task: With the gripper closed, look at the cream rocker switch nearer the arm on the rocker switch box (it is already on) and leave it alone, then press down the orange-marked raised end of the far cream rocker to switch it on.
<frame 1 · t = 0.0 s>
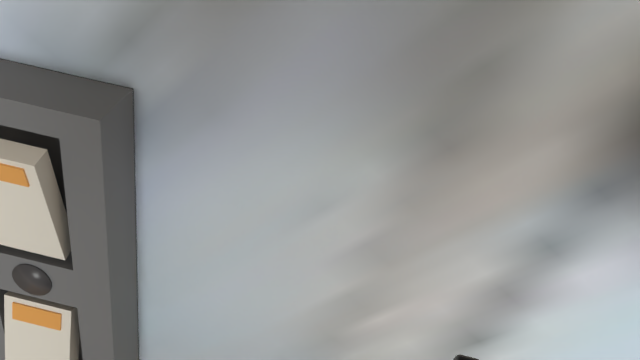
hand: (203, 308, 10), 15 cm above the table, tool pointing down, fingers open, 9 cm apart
rocker switch box: (64, 241, 31), on the table
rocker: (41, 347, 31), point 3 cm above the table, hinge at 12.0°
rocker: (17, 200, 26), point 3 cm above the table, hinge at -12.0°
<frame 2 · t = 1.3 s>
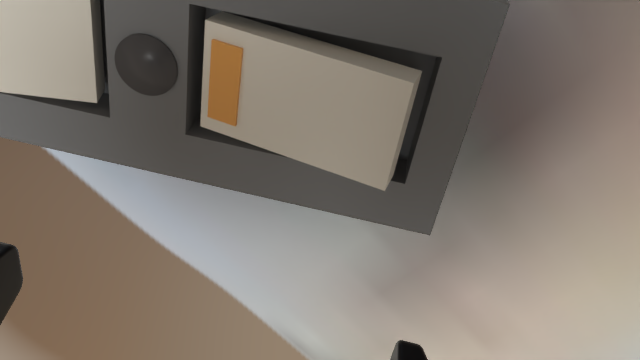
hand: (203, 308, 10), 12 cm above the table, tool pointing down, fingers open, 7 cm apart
rocker switch box: (181, 33, 20), on the table
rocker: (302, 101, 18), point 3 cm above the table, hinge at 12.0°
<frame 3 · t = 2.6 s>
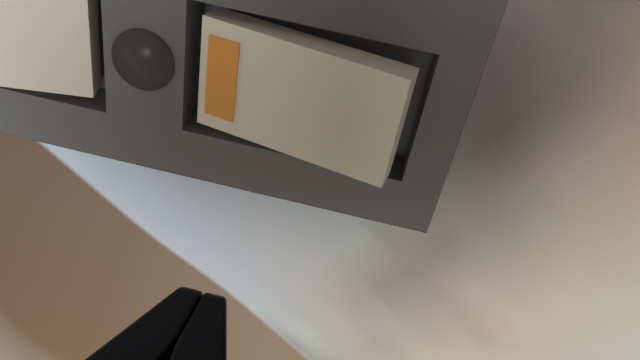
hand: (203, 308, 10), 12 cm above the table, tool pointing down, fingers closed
rocker switch box: (179, 28, 20), on the table
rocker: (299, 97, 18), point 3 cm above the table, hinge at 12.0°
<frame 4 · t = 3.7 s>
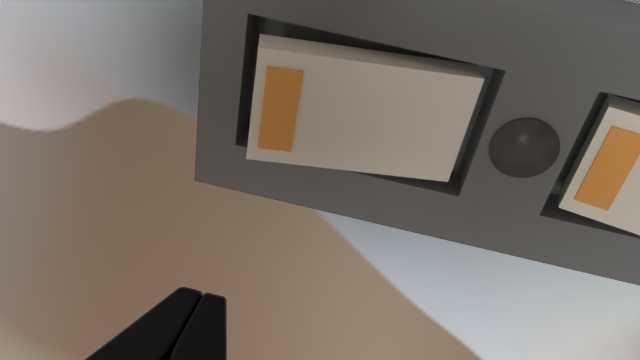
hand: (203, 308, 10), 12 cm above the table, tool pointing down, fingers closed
rocker switch box: (512, 104, 20), on the table
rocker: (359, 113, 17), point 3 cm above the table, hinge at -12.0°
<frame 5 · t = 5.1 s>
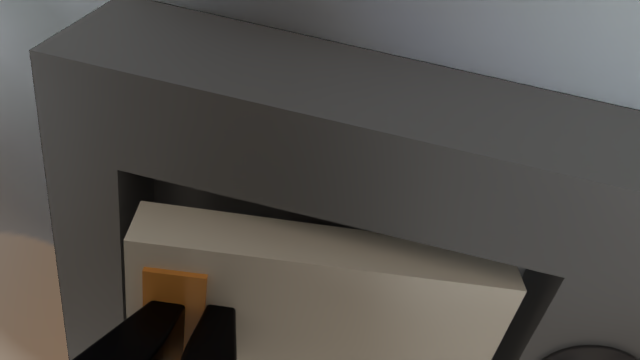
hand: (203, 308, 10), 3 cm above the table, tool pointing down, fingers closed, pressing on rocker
rocker switch box: (559, 270, 13), on the table
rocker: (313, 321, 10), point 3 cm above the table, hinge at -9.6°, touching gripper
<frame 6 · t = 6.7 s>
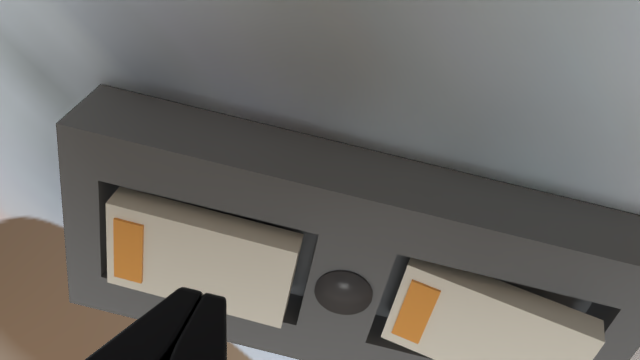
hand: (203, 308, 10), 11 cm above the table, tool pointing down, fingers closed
rocker switch box: (352, 237, 22), on the table
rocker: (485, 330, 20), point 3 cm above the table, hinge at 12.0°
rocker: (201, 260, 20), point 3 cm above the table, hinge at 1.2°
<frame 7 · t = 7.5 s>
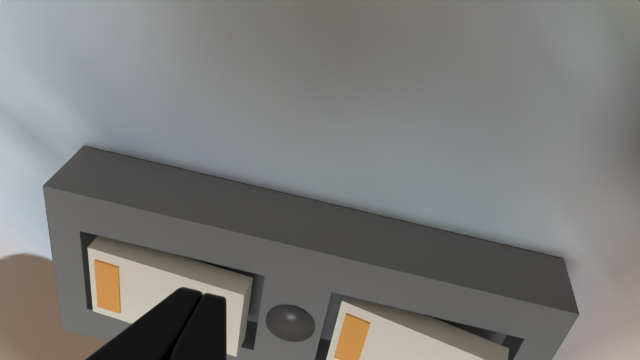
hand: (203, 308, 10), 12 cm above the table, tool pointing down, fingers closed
rocker switch box: (304, 272, 26), on the table
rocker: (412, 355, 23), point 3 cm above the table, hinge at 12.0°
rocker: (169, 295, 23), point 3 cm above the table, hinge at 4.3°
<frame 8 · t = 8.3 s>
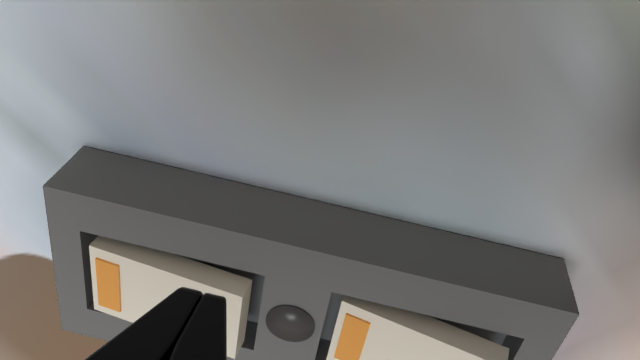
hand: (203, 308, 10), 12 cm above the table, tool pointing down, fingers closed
rocker switch box: (304, 272, 26), on the table
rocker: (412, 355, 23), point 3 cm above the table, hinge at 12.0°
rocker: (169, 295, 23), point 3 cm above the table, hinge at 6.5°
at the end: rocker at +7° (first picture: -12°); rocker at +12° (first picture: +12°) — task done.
